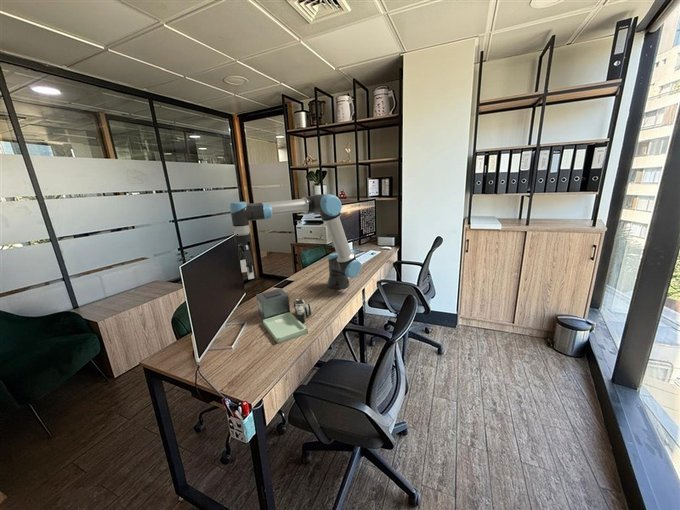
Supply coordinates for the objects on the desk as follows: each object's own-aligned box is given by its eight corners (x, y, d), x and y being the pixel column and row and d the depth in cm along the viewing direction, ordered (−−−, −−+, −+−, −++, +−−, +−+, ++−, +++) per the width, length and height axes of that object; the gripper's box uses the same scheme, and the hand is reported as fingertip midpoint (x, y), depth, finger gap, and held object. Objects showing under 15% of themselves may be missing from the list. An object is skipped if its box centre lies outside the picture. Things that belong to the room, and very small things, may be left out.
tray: (290, 316, 150) (289, 311, 150) (307, 333, 132) (307, 328, 132) (263, 324, 143) (262, 320, 142) (277, 343, 125) (277, 339, 124)
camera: (314, 322, 142) (312, 305, 139) (297, 326, 140) (295, 307, 137) (309, 310, 157) (307, 293, 154) (293, 312, 155) (292, 296, 152)
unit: (284, 307, 162) (282, 287, 159) (292, 314, 152) (290, 293, 149) (258, 314, 154) (255, 293, 151) (264, 323, 144) (261, 301, 141)
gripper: (229, 231, 144) (234, 270, 149) (240, 238, 123) (246, 283, 128) (243, 230, 147) (248, 268, 153) (256, 236, 127) (262, 280, 132)
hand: (247, 275), depth 141 cm, fingers open, 13 cm apart
